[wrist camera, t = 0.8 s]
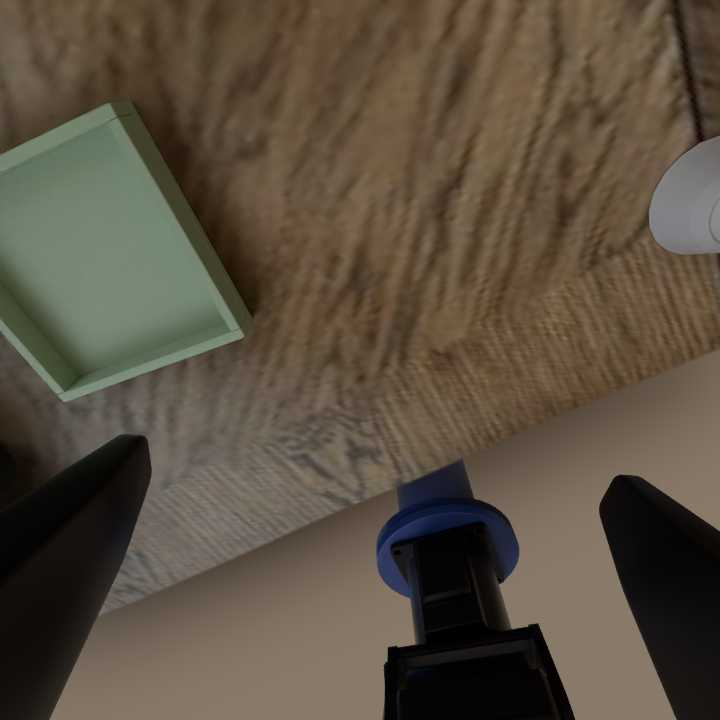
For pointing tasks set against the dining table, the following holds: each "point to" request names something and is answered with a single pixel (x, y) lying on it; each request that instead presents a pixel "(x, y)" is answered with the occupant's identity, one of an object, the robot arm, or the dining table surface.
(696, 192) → the chalice
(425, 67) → the dining table surface
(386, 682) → the robot arm
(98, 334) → the base pad
